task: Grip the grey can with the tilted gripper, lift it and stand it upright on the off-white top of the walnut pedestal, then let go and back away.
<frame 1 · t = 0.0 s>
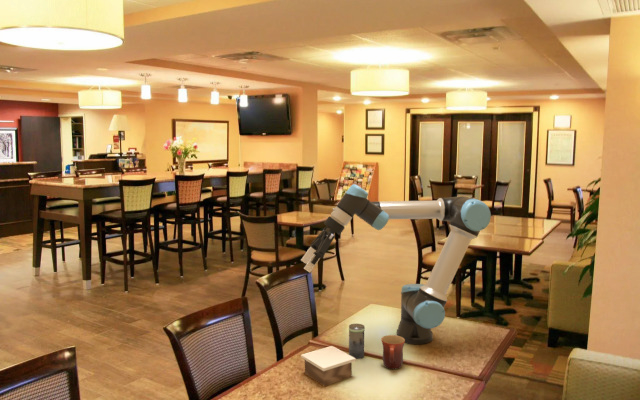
hand: (305, 266, 197), 36 cm above the table, tool tilted 35°, fingers open, 13 cm apart
grey can: (356, 355, 201), on the table
pedestal: (327, 375, 184), on the table
mug: (392, 368, 190), on the table
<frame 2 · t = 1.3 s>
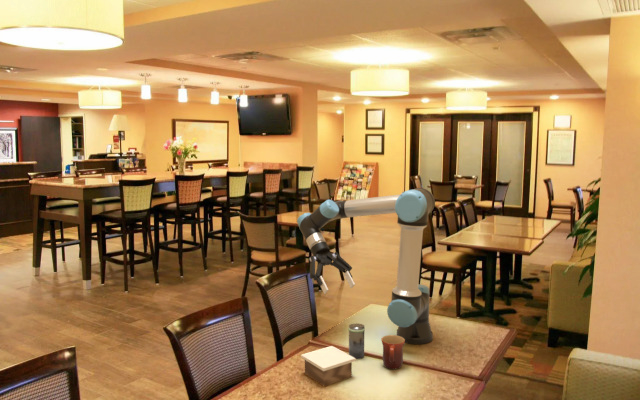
hand: (339, 288, 207), 24 cm above the table, tool tilted 45°, fingers open, 13 cm apart
nothing on the table moved.
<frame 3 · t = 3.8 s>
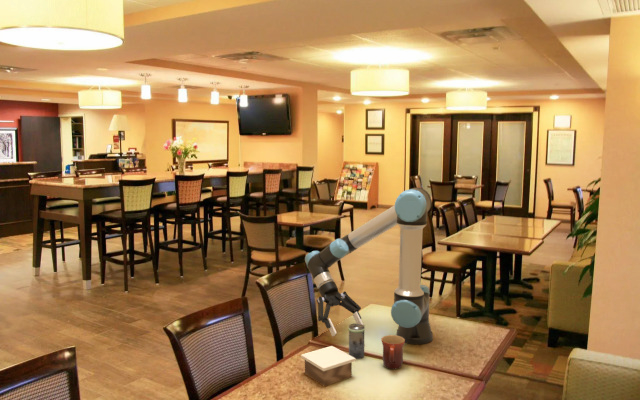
hand: (348, 331, 203), 9 cm above the table, tool tilted 45°, fingers open, 13 cm apart
nothing on the table moved.
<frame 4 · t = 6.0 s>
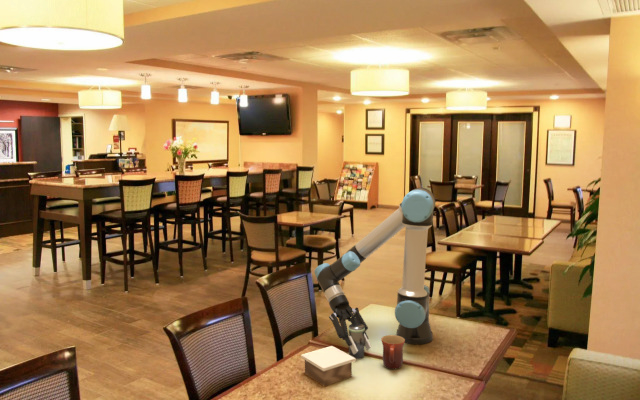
hand: (362, 350, 198), 3 cm above the table, tool tilted 45°, fingers closed on grey can, 6 cm apart
grey can: (356, 355, 201), on the table, touching gripper
everything else where it was.
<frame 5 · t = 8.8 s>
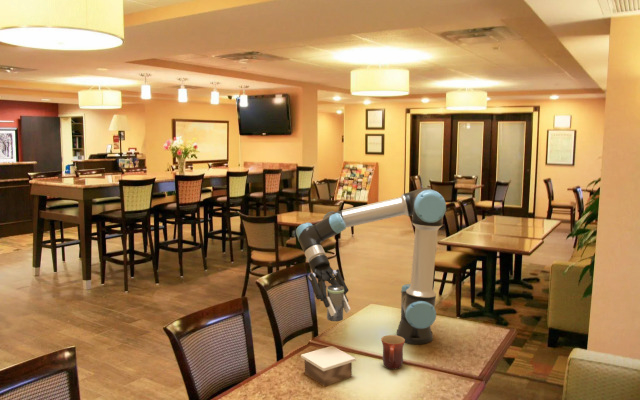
hand: (340, 312, 188), 21 cm above the table, tool tilted 45°, fingers closed on grey can, 6 cm apart
grey can: (334, 318, 191), point 18 cm above the table, touching gripper
everything else where it was.
when the fingers open (11 cm above the table, at t = 11.8 s): grey can stays where it is, resting on pedestal.
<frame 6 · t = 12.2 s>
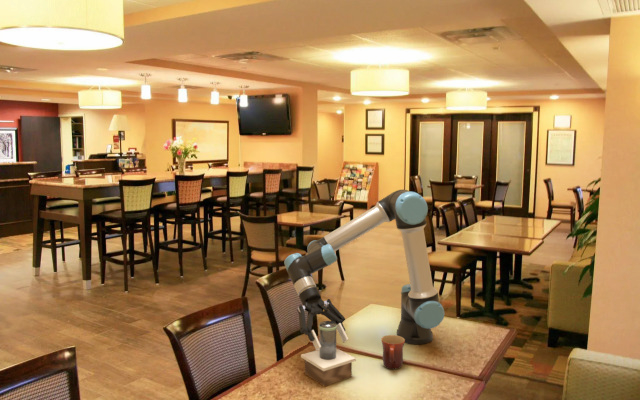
hand: (332, 344, 181), 12 cm above the table, tool tilted 45°, fingers open, 11 cm apart
grey can: (327, 356, 184), point 7 cm above the table, touching pedestal
everything else where it was.
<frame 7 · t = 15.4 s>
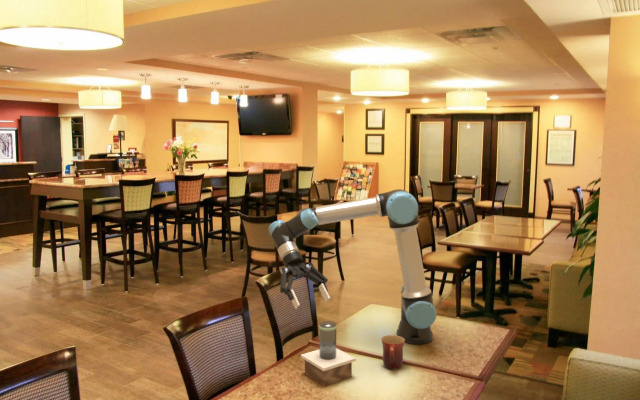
hand: (313, 303, 189), 24 cm above the table, tool tilted 45°, fingers open, 13 cm apart
nothing on the table moved.
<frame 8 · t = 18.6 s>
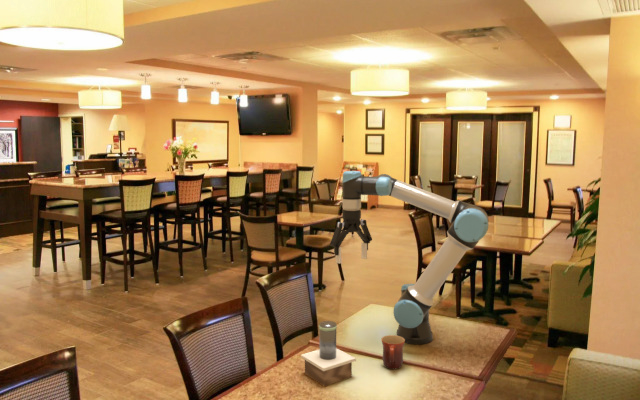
hand: (351, 260, 211), 35 cm above the table, tool pointing down, fingers open, 13 cm apart
nothing on the table moved.
at the end: grey can inside the target area on the pedestal (0.1 cm from its centre), point 7.0 cm above the pedestal's base; grey can tilted 0°; the gripper is holding nothing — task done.
